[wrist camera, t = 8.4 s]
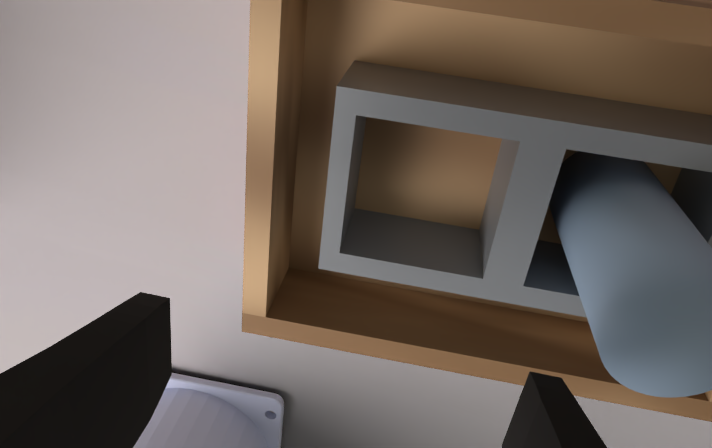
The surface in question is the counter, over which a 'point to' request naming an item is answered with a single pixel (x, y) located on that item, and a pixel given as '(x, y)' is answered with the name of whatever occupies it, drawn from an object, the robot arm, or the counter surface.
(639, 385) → the dowel
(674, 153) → the plate
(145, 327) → the robot arm
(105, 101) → the counter surface
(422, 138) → the tray box
